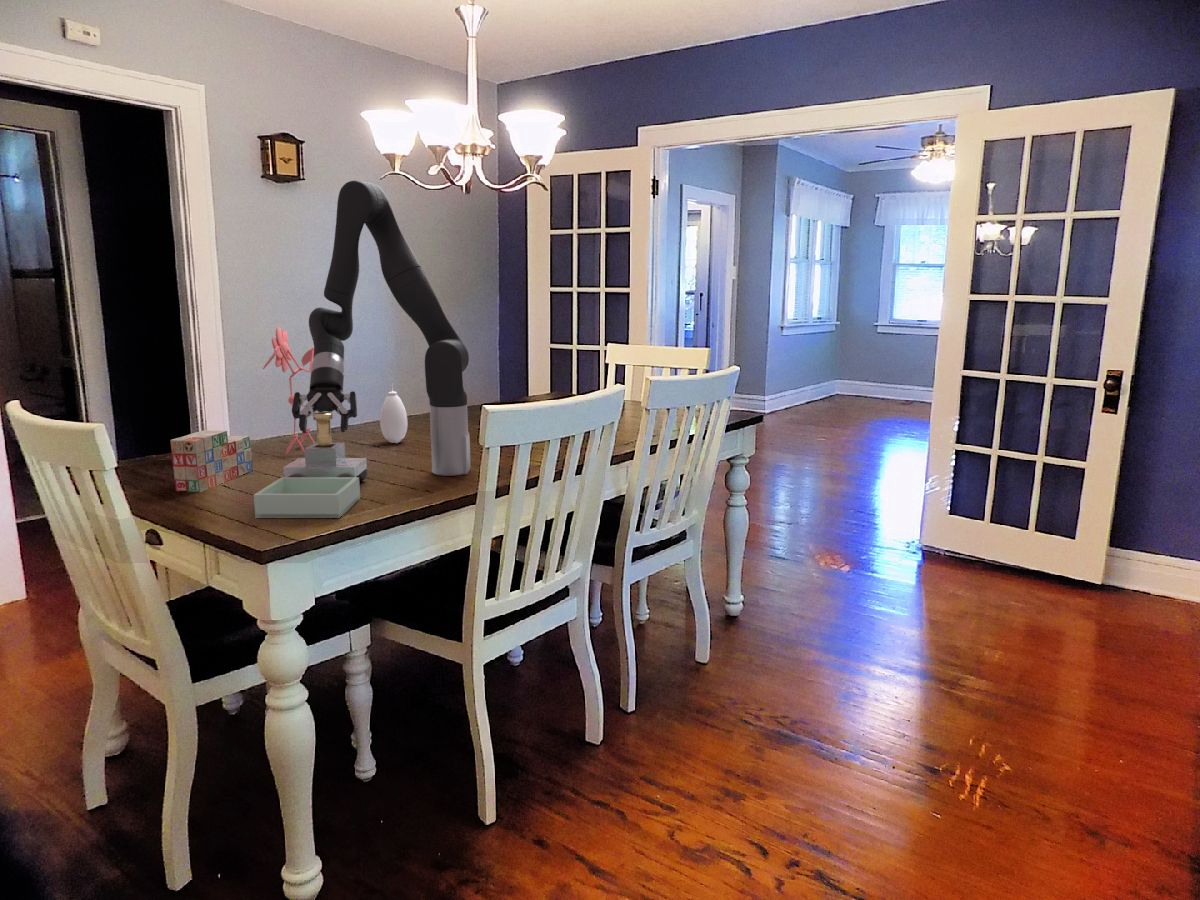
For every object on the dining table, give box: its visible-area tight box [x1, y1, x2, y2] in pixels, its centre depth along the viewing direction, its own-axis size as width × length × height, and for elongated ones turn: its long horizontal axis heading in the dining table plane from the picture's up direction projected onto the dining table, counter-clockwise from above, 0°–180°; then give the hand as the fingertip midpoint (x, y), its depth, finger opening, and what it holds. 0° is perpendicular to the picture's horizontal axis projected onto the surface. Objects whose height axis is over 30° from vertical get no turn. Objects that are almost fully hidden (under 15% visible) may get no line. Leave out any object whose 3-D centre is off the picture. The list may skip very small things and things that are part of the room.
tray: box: [253, 476, 361, 519], centre depth 171 cm, size 17×15×5 cm
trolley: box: [282, 442, 369, 483], centre depth 188 cm, size 16×13×10 cm
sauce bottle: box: [379, 383, 408, 444], centre depth 240 cm, size 8×8×18 cm
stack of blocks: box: [170, 429, 254, 493], centre depth 194 cm, size 21×6×12 cm, turn 171°
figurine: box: [262, 326, 316, 457], centre depth 226 cm, size 15×26×35 cm, turn 0°
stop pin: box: [312, 411, 333, 447], centre depth 187 cm, size 4×4×12 cm
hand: (323, 430), depth 186 cm, fingers open, 8 cm apart
